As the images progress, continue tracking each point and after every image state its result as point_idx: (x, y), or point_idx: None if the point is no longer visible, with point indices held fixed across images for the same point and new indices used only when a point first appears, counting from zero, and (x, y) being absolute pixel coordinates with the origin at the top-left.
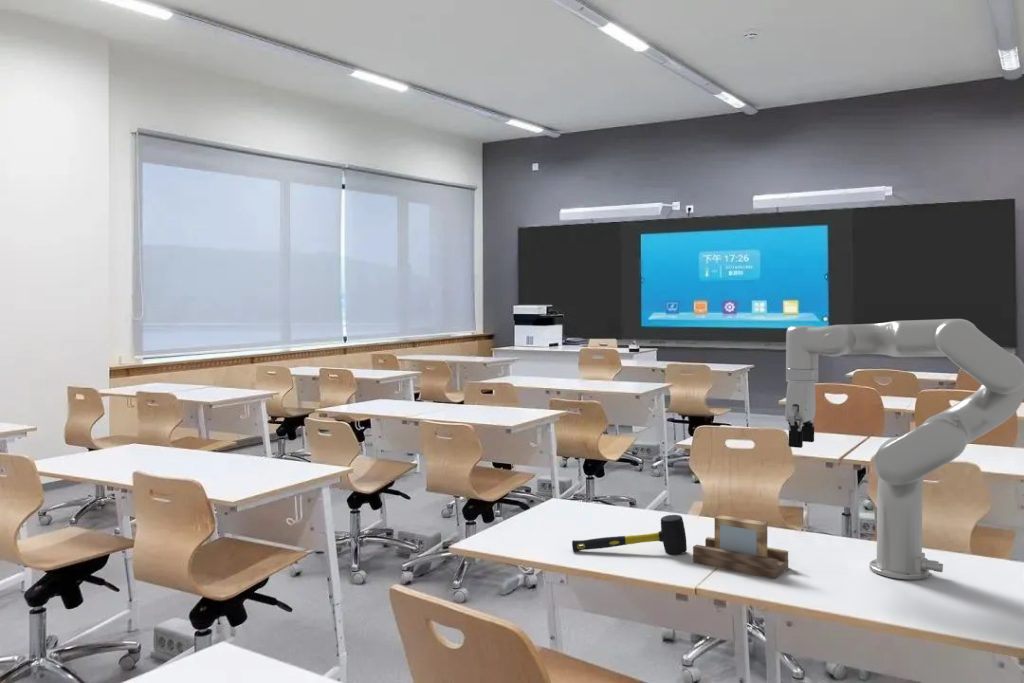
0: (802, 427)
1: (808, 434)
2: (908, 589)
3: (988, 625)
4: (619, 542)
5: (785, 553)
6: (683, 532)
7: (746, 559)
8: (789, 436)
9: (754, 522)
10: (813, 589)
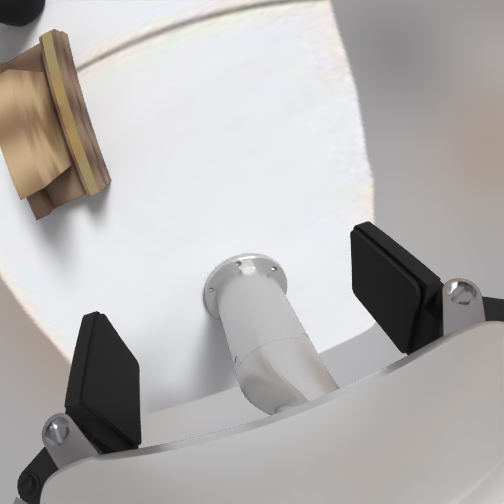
0: (410, 295)
1: (377, 299)
2: (182, 330)
3: (154, 399)
4: None
5: (88, 196)
6: (6, 16)
7: None
8: (74, 370)
9: (19, 171)
10: (66, 269)
